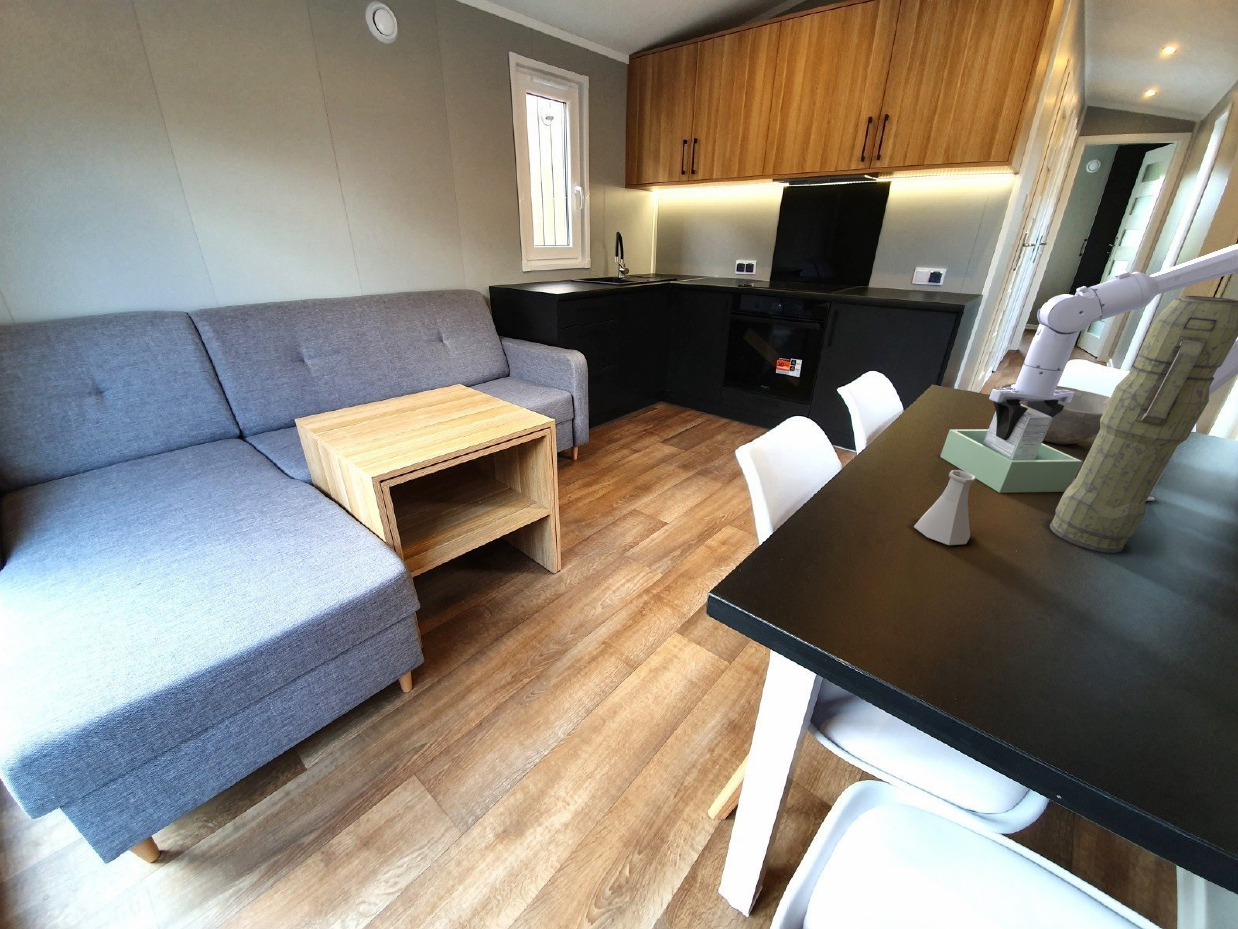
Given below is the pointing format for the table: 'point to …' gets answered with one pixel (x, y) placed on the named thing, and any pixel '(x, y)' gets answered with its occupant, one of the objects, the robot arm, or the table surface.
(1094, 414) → the ceramic bowl
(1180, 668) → the table surface
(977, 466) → the mint green tray
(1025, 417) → the medicine box
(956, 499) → the flask
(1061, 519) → the thermos
